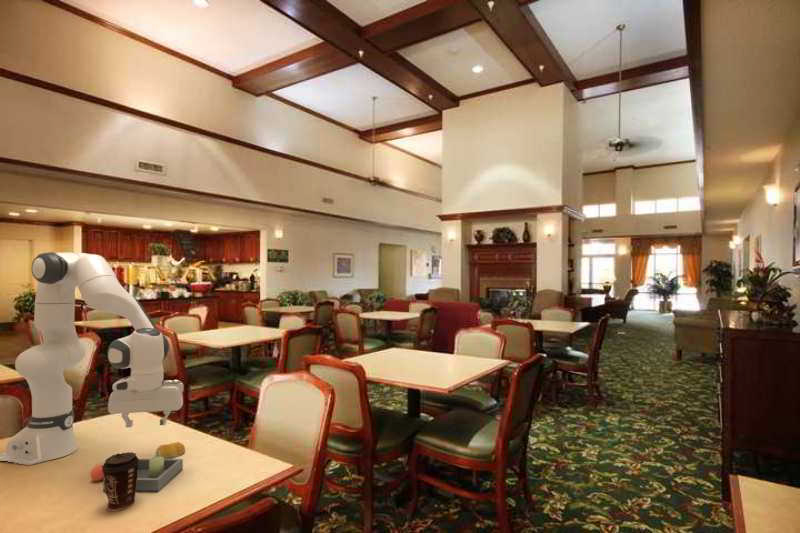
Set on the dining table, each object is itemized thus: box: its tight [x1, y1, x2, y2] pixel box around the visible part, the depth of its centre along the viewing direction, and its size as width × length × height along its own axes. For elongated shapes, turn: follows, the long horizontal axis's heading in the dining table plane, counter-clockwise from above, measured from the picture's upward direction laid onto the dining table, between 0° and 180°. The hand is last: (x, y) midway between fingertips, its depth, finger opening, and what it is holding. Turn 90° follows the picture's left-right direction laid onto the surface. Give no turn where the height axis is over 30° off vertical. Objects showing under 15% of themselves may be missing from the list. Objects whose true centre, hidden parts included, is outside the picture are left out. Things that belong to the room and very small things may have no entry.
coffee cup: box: [102, 451, 140, 512], centre depth 120 cm, size 9×8×13 cm
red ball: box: [90, 464, 105, 482], centre depth 134 cm, size 4×4×4 cm
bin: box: [102, 458, 184, 493], centre depth 133 cm, size 16×14×4 cm
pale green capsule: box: [149, 456, 164, 478], centre depth 135 cm, size 4×4×5 cm
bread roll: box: [154, 441, 186, 459], centre depth 152 cm, size 8×9×4 cm
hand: (146, 425), depth 135 cm, fingers open, 8 cm apart
